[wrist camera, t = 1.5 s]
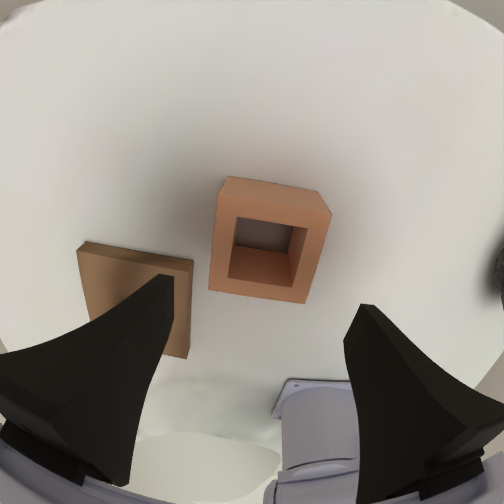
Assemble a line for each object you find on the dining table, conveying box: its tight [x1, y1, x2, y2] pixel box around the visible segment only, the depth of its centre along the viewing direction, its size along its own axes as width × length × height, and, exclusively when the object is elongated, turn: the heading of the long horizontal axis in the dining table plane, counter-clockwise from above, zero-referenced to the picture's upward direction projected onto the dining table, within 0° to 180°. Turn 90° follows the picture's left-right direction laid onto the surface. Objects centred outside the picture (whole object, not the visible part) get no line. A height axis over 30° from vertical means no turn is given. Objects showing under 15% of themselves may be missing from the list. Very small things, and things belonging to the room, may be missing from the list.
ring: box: [208, 176, 332, 304], centre depth 16 cm, size 6×6×4 cm
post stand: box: [76, 242, 193, 359], centre depth 19 cm, size 9×9×6 cm
